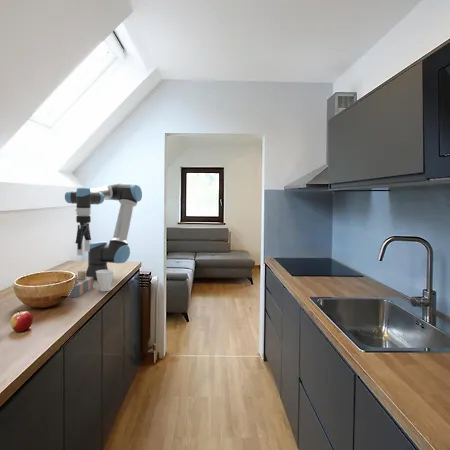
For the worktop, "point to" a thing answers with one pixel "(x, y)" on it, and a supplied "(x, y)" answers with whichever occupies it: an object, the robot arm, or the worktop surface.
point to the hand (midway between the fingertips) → (83, 253)
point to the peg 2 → (81, 275)
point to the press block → (81, 287)
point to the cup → (104, 279)
